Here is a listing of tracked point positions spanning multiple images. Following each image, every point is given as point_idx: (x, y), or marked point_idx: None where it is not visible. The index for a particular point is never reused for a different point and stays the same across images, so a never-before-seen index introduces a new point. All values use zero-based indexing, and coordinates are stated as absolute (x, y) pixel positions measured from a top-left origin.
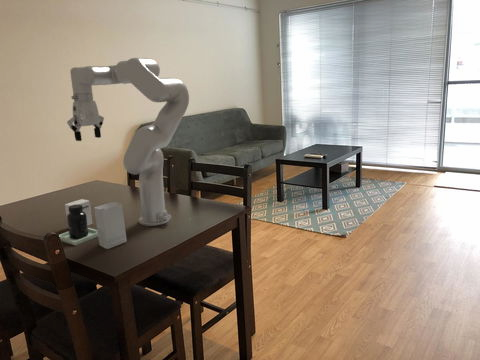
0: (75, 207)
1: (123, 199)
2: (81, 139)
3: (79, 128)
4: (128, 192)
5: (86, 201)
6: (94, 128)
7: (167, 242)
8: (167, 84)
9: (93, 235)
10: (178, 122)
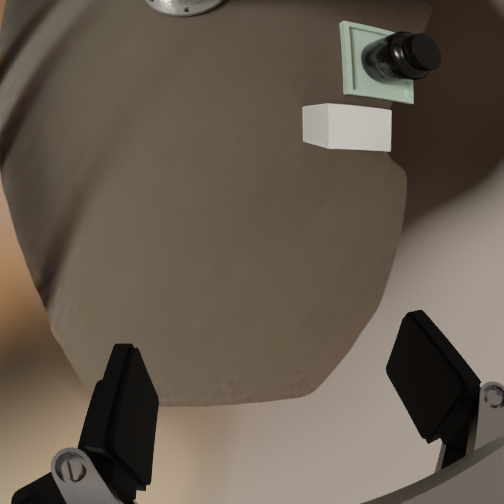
0: (431, 43)
1: (104, 229)
2: (411, 321)
3: (484, 422)
4: (65, 276)
5: (339, 107)
6: (143, 486)
7: None
8: None
9: (366, 26)
10: None
